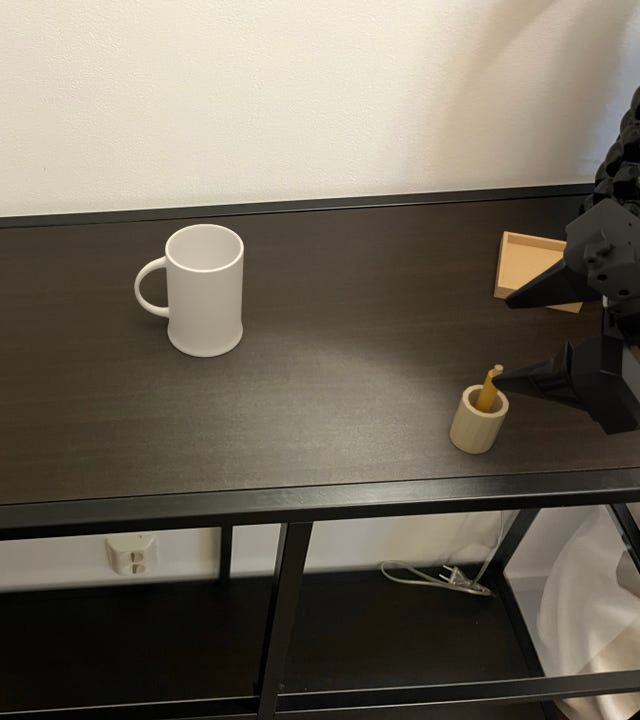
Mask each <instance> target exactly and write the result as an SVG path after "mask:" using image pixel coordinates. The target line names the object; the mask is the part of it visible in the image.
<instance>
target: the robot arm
mask: <svg viewBox="0 0 640 720" xmlns="http://www.w3.org/2000/svg"><path fill="white" fill-rule="evenodd" d="M565 233H566V234H567V235H566V241H565V242H566V247H565V249H564V250H563V258H562V259H560V260H559V261H558V262H556V263H555V264H554V265H552V266H551V267H550V268H548V269H547V270H546V271H544V272H543V273H541V274H540V275H538V276H537V277H535V278H534V279H532V280H531V281H529V282H528V283H526V284H525V285H523V286H522V287H520V288H519V289H517V290H516V291H514V292H513V293H511V294H510V295H509V296H507V297H506V298H505V299H504V304H505V305H506V306H507V308H508V309H511V310H516V309H517V310H519V309H520V310H521V309H536V308H547V307H546V306H555V305H563V304H572V303H581V302H583V303H590V302H598V301H601V302H600V318H599V319H600V320H599V333H598V335H594V336H589V337H586V338H584V339H583V340H582V341H581V342H580V343H578V344H577V345H575V347H574V346H573V345H572V343H571V342H570V340H567V341H565V342H564V344H563V345H562V346H561V348H560V349H559V350H558V352H557V354H556V355H555V356H554V357H552V358H550V359H546V360H543V361H538V362H535V363H532V364H529V365H525V366H521V367H517V368H514V369H510V370H508V371H505V372H502V374H499V375H497V376H494V377H492V379H491V383H492V384H493V385H494V387H495V388H496V389H498V390H499V391H501V392H502V391H503V392H507V393H513V394H517V395H520V396H527V397H531V398H536V399H538V400H539V399H540V400H544V401H548V402H553V403H557V404H560V405H563V406H567V407H570V408H573V409H575V410H579V411H583V412H585V413H587V415H588V416H589V418H590V420H591V421H592V422H594V423H597V424H599V426H600V427H601V428H602V430H603V431H604V433H605V435H606V436H609V435H617V434H624V433H631V432H636V431H639V430H640V364H639V362H638V360H637V359H636V358H635V356H634V354H633V353H632V348H633V347H637V348H638V349H639V350H640V218H639V217H637V216H636V214H633V213H632V212H630V211H629V210H628V209H626V208H625V207H623V206H622V205H621V204H619V203H618V202H617V201H615V200H613V199H612V198H609V197H606V198H603V199H602V200H601V201H599V202H598V203H596V204H595V205H594V206H592V207H591V208H590V209H588V210H587V211H585V212H584V213H582V214H581V215H580V216H578V217H577V218H575V219H574V220H573V221H571V222H570V223H569V224H567V225H566V226H565Z"/></svg>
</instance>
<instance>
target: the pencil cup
mask: <svg viewBox="0 0 640 720" xmlns="http://www.w3.org/2000/svg"><path fill="white" fill-rule="evenodd" d="M483 385H484V384H475V385H471V386H468V387H467V388H466V389H465V390H464V391H463V392H462V395H461V398H460V401H459V402H458V406H457V408H456V412H455V414H454V417H453V419H452V422H451V426H450V429H449V433H448V434H449V438H450V441H451V443H452V444H453V445H454V446H455V447H456V448H458V449H459V450H460V451H462V452H464V453H468V454H472V455H473V454H474V455H477V454H483V453H485V452H487V451H489V450H490V449H491V448H492V446H493V444H494V442H495V440H496V438H497V437H498V433H499V431H500V430H501V429H500V428H501V427H502V425H503V422H504V420H505V417H506V415H507V413H508V411H509V405H510V402H509V401H508V398H507V396H506V395H505V394H504V393H503V392H502V391H501V390H498V392H497V394H496V397H495V399H494V402H493V404H492V406H491V409H490V411H489V413H483V412H480V411H478V410H476V409H475V406H476V403H477V400H478V398H479V395H480V393H481V390H482V388H483Z"/></svg>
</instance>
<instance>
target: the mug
mask: <svg viewBox="0 0 640 720" xmlns="http://www.w3.org/2000/svg"><path fill="white" fill-rule="evenodd" d="M244 247H245V246H244V243H243V240H242V238H241V237H240V236H239V235H238V234H237V233H236V232H235V231H233V230H232V229H229V228H227V227H226V226H222V225H218V224H210V223H200V224H194V225H193V224H192V225H189V226H186V227H183V228H181V229H179V230H177V231H175V232H174V233H173V234H172V235H171V236H170V237H169V238H168V239H167V241H166V243H165V249H164V250H165V251H164V252H165V255H164V256H162V257H160V258H156V259H155V260H152V261H150V262H148V263H147V264H146V265H145V266H144V267H143V268H142V269H141V270H140V271H139V272H138V274H137V276H136V278H135V280H134V294H135V298H136V300H137V302H138V303H139V305H140V306H141V307H142V308H144V309H145V310H146V311H147V312H149V313H151V314H153V315H156V316H158V317H164V318H167V319H168V325H167V336H168V339H169V341H170V343H171V344H172V345H173V347H175V348H176V349H177V350H178V351H180V352H182V353H183V354H186V355H188V356H192V357H198V358H213V357H218V356H221V355H224V354H226V353H228V352H230V351H231V350H234V349H235V347H236V346H237V345H238V344H239V343H240V341H241V339H242V337H243V332H244V330H243V329H244V327H243V323H242V306H243V305H242V303H243V277H244V253H245V251H244V250H245V248H244ZM158 269H166V270H165V271H166V287H167V307H160V306H157V305H154V304H151V303H149V302H148V301H146V300H145V298H143V296H142V295H141V292H140V284H141V281H142V280H143V279H144V278H145V276H147V275H148V274H150V273H151V272H153V271H155V270H158Z"/></svg>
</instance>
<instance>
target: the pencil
mask: <svg viewBox="0 0 640 720" xmlns="http://www.w3.org/2000/svg"><path fill="white" fill-rule="evenodd" d="M503 370H504V366H503V365H501V364H495V365H494V367H493V369H490V370H489V371H488V373H487V375H486V378H485V380H484V383H483V384H482V385H483V388H482V390H481V393H480V395H479V398H478V400H477V403H476V406H475V409H476V410H478V411H480V412H483V413H489V411H490V409H491V406H492V404H493V402H494V399H495V397H496V394H497V392H498V389H496V388H495V387H494V385H493V384H492V383H491V379H492V377H494V376H497V375H499V374H502V373H503Z"/></svg>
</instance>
